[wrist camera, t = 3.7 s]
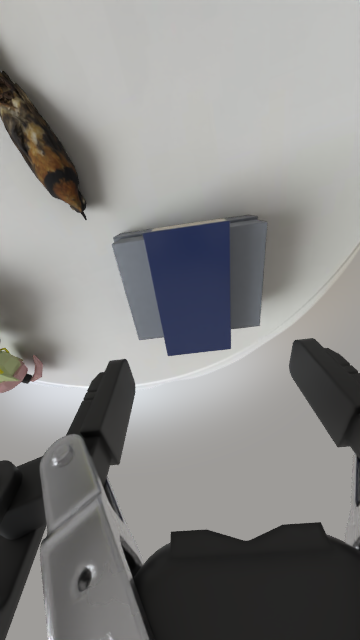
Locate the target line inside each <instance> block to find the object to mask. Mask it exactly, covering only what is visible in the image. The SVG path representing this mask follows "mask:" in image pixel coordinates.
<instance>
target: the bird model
mask: <svg viewBox="0 0 360 640" xmlns="http://www.w3.org/2000/svg"><path fill="white" fill-rule="evenodd" d="M0 117H1V119H2V121H3V123H4V126H5V128H6V130H7V132H8V133H9V135H10V137H11V139H12V141H13V142H14V144H15V146H16V147H17V148H18V150H19V151H20V153H21V154H22V156H23V158H24V159H25V161H26V163H27V164H28V165H29V167H30V168H31V170H32V171H33V173H34V174H35V176H36V177H37V178H38V179H39V181H40V182H41V183H42V184H43V185H44V187H45V188H46V189H47V190H48V191H49V193H50V194H51V195H52V196H53V197H55V198H58V199H61V200H63V201H65V202H66V203H68V204H69V205H70V207H71V208H72V209H73V210H75V211H76V212H78V213H81V214H82V215H83V217H84V218H85V220H87V219H86V216H85V214H84V212H83V211H84V210H85V208H86V201H85V199H84V198H83V196H82V194H81V192H80V191H79V189H78V184H79V181H78V176H77V173H76V170H75V167H74V165H73V163H72V162H71V160H70V159H69V157H68V156H67V154H66V152H65V150H64V148H63V146H62V144H61V142H60V141H59V140H58V138H57V137H56V135H55V134H54V133H53V131H52V130H51V129H50V127H49V126H48V124H47V123H46V121H45V120H44V119H43V118H42V116H41V115H40V114H39V113H38V111H37V110H36V108H35V107H34V105H33V104H32V103H31V101H30V100H29V98H28V97H27V95H26V94H25V93H24V91H23V90H22V89H21V88H20V87H19V85H18V84H16V83H15V84H14V83H13V82H12V81H11V80H10V78H9V76H8V75H7V74H6V73H5V72H4V71H2V73H1V72H0Z"/></svg>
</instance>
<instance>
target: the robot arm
mask: <svg viewBox="0 0 360 640" xmlns="http://www.w3.org/2000/svg"><path fill="white" fill-rule="evenodd" d="M289 369H290V373H291V376H292V378H293V380H294V381H295V383H296V384H297V386H298V387H299V389H300V390H301V392H302V393H303V395H304V396H305V398H306V400H307V401H308V403H309V404H310V406H311V407H312V409H313V410H314V411H315V413H316V415H317V416H318V418H319V419H320V421H321V422H322V424H323V425H324V427H325V429H326V430H327V432H328V433H329V435H330V436H331V438H332V439H333V441H334V442H335V444H336V445H337V447H346V446H350V447H351V448H352V449H353V451H354V452H355V454H354V456H353V469H352V493H351V510H350V516H349V519H348V523H347V527H346V533H345V542H343V541H341V540H339V539H337V538H334V537H332V536H330V535H326V533H325V531H324V529H323V526H322V524H321V522H319V523H304V524H288V525H281V526H279V527H277V528H275V529H273V530H271V531H269V532H267V533H265V534H262V535H260V536H258V537H256V538H254V539H252V540H249V541H243V540H239V539H236V538H233V537H230V536H226V535H223V534H220V533H216V532H213V531H209V530H192V531H176V532H171V543H169V544H166V545H165V546H163V547H162V548H160V549H159V550H157V551H156V552H155V553H154V554H153V555H152V556H151V557H149V558H148V560H147V561H146V562H145V563H144V561H143V559H142V556H141V554H140V551H139V549H138V547H137V544H136V543H135V540H134V538H133V536H132V534H131V532H130V530H129V529H128V526H127V524H126V522H125V519H124V517H123V514H122V512H121V509H120V507H119V504H118V502H117V499H116V497H115V494H114V492H113V489H112V487H111V484H110V482H109V479H108V477H107V474H108V471H109V467H110V465H118V464H119V463H120V459H121V454H122V450H123V445H124V441H125V436H126V432H127V427H128V423H129V418H130V413H131V409H132V404H133V400H134V395H135V382H134V378H133V376H132V373H131V370H130V367H129V364H128V361H127V360H126V359H122V360H113V361H110V362H109V363H108V366H107V368H106V370H105V372H101V373H99V374H98V375H97V376H96V377H95V379H94V380H93V381H92V382H91V384H90V386H89V388H88V392H87V393H86V395H85V397H84V401H82V403H81V405H80V408H79V409H78V412H77V414H76V416H75V418H74V420H73V422H72V424H71V426H70V428H69V431H68V433H67V434H66V436H64V437H62V438H60V439H58V440H57V441H56V442H54V443H53V444H52V445H51V446H50V447H49V448H48V450H47V451H46V452H45V454H44V455H43V456H42V457H40V458H37V459H35V460H32V461H30V462H27V463H25V464H22V465H20V466H17V467H16V466H15V465H13V464H12V463H11V462H10V461H0V640H5V638H6V635H7V633H8V630H9V627H10V624H11V622H12V619H13V616H14V613H15V610H16V608H17V605H18V602H19V600H20V597H21V594H22V591H23V588H24V585H25V583H26V580H27V577H28V575H29V572H30V569H31V566H32V564H33V561H34V558H35V556H36V553H37V550H38V547H39V544H40V542H41V539H42V536H43V533H44V530H45V528H46V525H47V537H46V538H45V539H44V540H43V541H42V543H41V547H40V562H41V572H42V582H43V593H44V602H45V613H46V623H47V633H48V640H360V373H358V371H357V370H356V369H355V368H354V367H353V366H350V364H349V362H347V361H346V360H345V359H344V358H343V357H342V356H341V355H340V354H338V353H336V352H334V351H332V350H330V349H329V348H323V347H322V346H321V345H320V344H319V343H318V342H317V341H316V340H315V339H313V338H310V339H302V340H295V341H294V342H293V346H292V352H291V358H290V364H289Z"/></svg>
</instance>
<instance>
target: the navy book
mask: <svg viewBox="0 0 360 640" xmlns="http://www.w3.org/2000/svg"><path fill="white" fill-rule="evenodd" d="M143 239H144V244H145V248H146V253H147V258H148V263H149V268H150V272H151V277H152V282H153V287H154V292H155V296H156V301H157V306H158V311H159V315H160V320H161V325H162V330H163V335H164V339H165V344H166V349H167V354H168V356H172V355H181V354H190V353H199V352H208V351H216V350H225V349H231V305H230V221H229V220H226V219H224V218H221V219H214V220H207V221H201V222H194V223H187V224H180V225H173V226H167V227H160V228H153V229H147V230H146V231H145V232H143Z"/></svg>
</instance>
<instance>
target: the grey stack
mask: <svg viewBox="0 0 360 640" xmlns="http://www.w3.org/2000/svg"><path fill="white" fill-rule="evenodd" d="M224 219H226V220H229V221H230V305H231V329H237V328H246V327H254V326H260V313H261V300H262V287H263V273H264V260H265V247H266V233H267V222H266V221H261V220H258V217H257V216H252V215H244V216H237V217H231V218H224ZM145 231H146V230H142V231H135V232H129V233H122V234H119V235H117V236H115V237H114V238H113V239H114V243H113V244H112V247H113V250H114V254H115V257H116V261H117V264H118V268H119V271H120V275H121V278H122V282H123V285H124V289H125V292H126V296H127V299H128V303H129V306H130V310H131V313H132V317H133V320H134V324H135V327H136V331H137V334H138V338H139V340H145V339H153V338H161V337H164V335H163V330H162V325H161V320H160V315H159V311H158V306H157V301H156V296H155V292H154V287H153V282H152V277H151V272H150V268H149V263H148V258H147V253H146V248H145V244H144V239H143V232H145Z"/></svg>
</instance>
